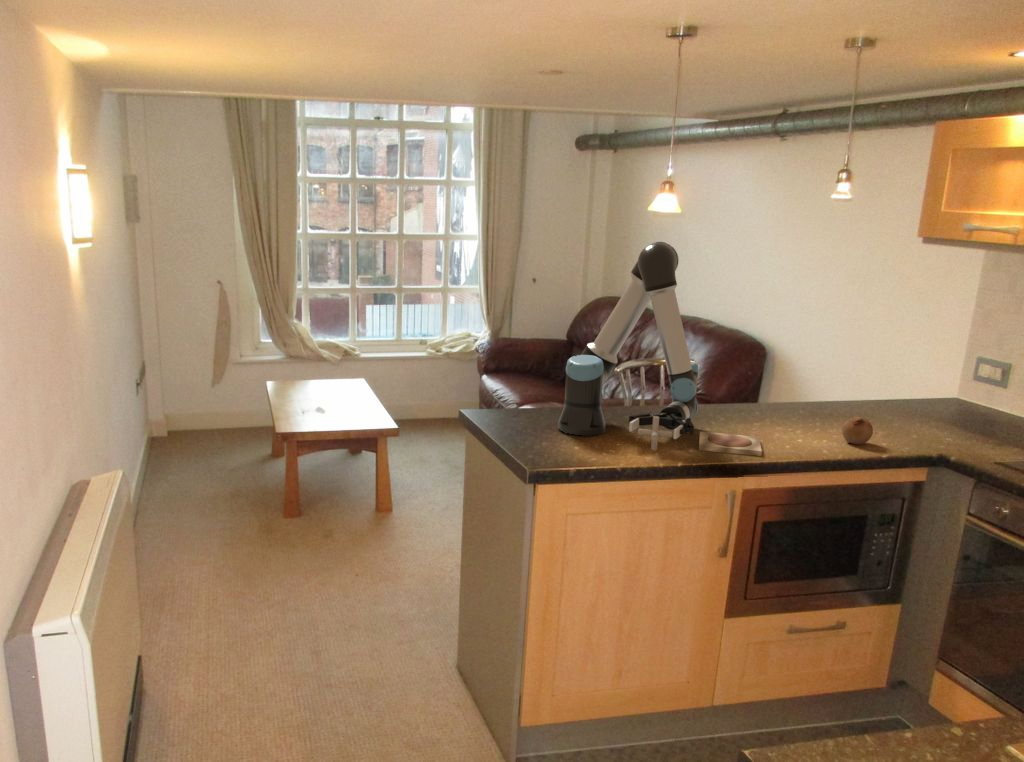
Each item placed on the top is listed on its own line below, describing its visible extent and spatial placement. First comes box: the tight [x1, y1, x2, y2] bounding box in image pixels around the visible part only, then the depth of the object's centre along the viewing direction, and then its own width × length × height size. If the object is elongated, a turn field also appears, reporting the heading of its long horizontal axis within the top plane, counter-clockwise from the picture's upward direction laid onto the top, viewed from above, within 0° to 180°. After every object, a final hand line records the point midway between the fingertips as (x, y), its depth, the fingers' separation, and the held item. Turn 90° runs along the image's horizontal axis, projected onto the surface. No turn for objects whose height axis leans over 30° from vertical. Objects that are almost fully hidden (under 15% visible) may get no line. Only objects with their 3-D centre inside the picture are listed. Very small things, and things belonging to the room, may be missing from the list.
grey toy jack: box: [637, 416, 673, 451], centre depth 241 cm, size 10×10×10 cm
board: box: [698, 431, 763, 457], centre depth 249 cm, size 18×16×2 cm
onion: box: [841, 416, 874, 445], centre depth 256 cm, size 9×9×10 cm
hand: (652, 430), depth 238 cm, fingers open, 13 cm apart
